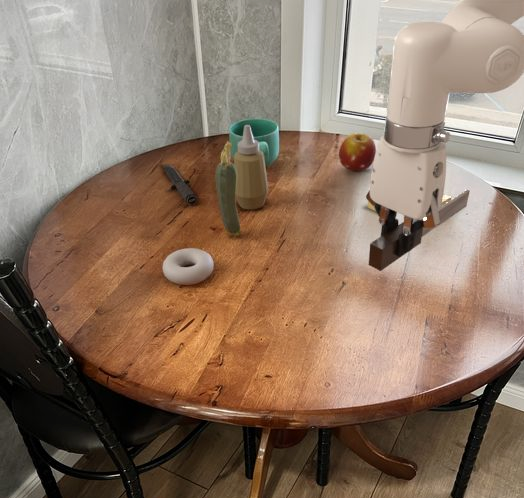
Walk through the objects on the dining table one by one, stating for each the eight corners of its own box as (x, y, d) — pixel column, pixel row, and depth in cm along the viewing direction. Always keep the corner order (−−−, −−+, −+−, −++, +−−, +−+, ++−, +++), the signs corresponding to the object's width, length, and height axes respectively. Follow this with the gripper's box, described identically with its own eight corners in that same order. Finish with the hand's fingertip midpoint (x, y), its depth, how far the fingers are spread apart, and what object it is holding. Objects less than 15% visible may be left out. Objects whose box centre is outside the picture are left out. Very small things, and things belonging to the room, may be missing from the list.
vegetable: (225, 242, 114) (216, 149, 100) (218, 232, 117) (208, 141, 103) (244, 237, 115) (238, 144, 101) (237, 227, 118) (229, 136, 104)
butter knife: (471, 208, 93) (475, 186, 90) (380, 271, 82) (382, 249, 80) (459, 203, 94) (463, 182, 91) (368, 265, 84) (369, 243, 81)
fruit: (364, 178, 133) (367, 146, 127) (331, 171, 136) (332, 140, 131) (380, 163, 138) (383, 132, 133) (347, 157, 142) (350, 126, 137)
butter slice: (391, 209, 121) (393, 195, 119) (383, 214, 120) (385, 200, 117) (375, 203, 124) (377, 188, 121) (367, 207, 122) (368, 193, 120)
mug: (229, 156, 145) (226, 120, 139) (275, 151, 146) (274, 115, 140) (236, 183, 133) (233, 146, 127) (286, 178, 134) (285, 140, 128)
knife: (200, 200, 126) (192, 192, 124) (184, 213, 127) (177, 205, 125) (178, 159, 143) (172, 151, 141) (165, 170, 144) (158, 163, 142)
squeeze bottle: (274, 199, 127) (272, 121, 115) (260, 215, 122) (256, 135, 109) (243, 193, 130) (238, 116, 117) (228, 209, 124) (221, 130, 112)
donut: (217, 285, 103) (211, 255, 110) (215, 270, 101) (210, 241, 108) (165, 292, 102) (162, 262, 109) (162, 277, 100) (160, 247, 107)
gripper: (482, 139, 69) (453, 259, 82) (383, 109, 78) (371, 222, 91) (448, 157, 66) (423, 280, 78) (348, 123, 75) (341, 239, 87)
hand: (395, 248), depth 84 cm, fingers closed on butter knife, 2 cm apart
